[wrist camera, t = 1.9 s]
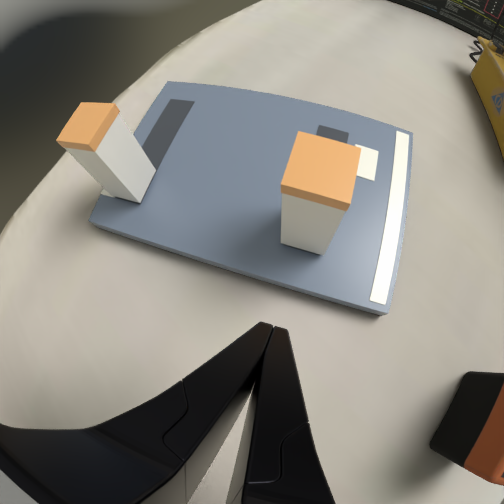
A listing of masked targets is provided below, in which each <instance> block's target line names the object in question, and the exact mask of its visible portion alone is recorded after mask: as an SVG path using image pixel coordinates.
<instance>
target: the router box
mask: <svg viewBox="0 0 504 504" xmlns="http://www.w3.org/2000/svg"><path fill="white" fill-rule="evenodd" d="M389 1H392V2H395V3H399V4H401V5H404V6H407V7H410V8H413V9H415V10H418V11H421V12H423V13H426V14H428V15H431V16H433V17H436V18H438V19H440V20H442V21H445V22H447V23H449V24H452V25H454V26H456V27H458V28H460V29H462V30H464V31H466V32H468V33H470V34H472V35H474V36H476V37H478V36H480V37H482V38H484V39H487V40H489V41H490V40H491V34H492V32H493V30H494V28H495V25H496V23H497V21H498V20H499V18H500V16H501V14H502V13H503V11H504V0H389ZM493 42H496V43H498V44H501V45H502V46H504V17H503V18H502V20H501V22H500V24H499V26H498V28H497V30H496V32H495V35H494V37H493Z"/></svg>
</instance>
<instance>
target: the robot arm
mask: <svg viewBox="0 0 504 504" xmlns="http://www.w3.org/2000/svg"><path fill="white" fill-rule="evenodd" d="M253 386H254V387H253ZM252 389H253V390H252ZM251 391H252V393H251ZM250 394H251V397H250V401H249V406H248V410H247V415H246V419H245V424H244V428H243V433H242V437H241V441H240V446H239V450H238V454H237V459H236V463H235V467H234V471H233V475H232V480H231V484H230V488H229V492H228V496H227V500H226V504H335V501H334V498H333V496H332V493H331V491H330V488H329V485H328V483H327V480H326V477H325V475H324V472H323V470H322V467H321V464H320V461H319V458H318V455H317V452H316V449H315V445H314V441H313V437H312V433H311V428H310V424H309V423H308V422H309V420H308V415H307V411H306V407H305V402H304V398H303V393H302V389H301V384H300V380H299V376H298V371H297V367H296V362H295V358H294V354H293V350H292V345H291V341H290V337H289V332H288V330H287V329H284V328H281V327H277V326H275V327H274V328H273V325H271V324H268V323H265V322H259V323H258V324H256V325H255V326H254V327H252V328H251V329H250V330H248V331H247V332H246V333H245V334H243V335H242V336H241V337H239V338H238V339H237V340H235V341H234V342H233V343H231V344H230V345H229V346H227V347H226V348H225V349H223V350H222V351H221V352H219V353H218V354H217V355H215V356H214V357H212V358H211V359H210V360H208V361H207V362H206V363H204V364H203V365H201V366H200V367H199V368H197V369H196V370H195V371H193V372H192V373H190V374H189V375H188V376H186V377H185V378H183V379H182V381H179V382H177V383H176V384H175V385H173V386H172V387H170V388H169V389H167V390H166V391H164V392H162V393H161V394H159V395H158V396H156V397H154V398H153V399H151V400H149V401H147V402H145V403H143V404H141V405H139V406H137V407H135V408H133V409H131V410H129V411H127V412H125V413H123V414H121V415H118V416H116V417H114V418H112V419H110V420H108V421H105V422H103V423H101V424H98V425H96V426H92V427H89V428H84V429H62V430H58V429H23V428H14V427H9V426H6V425H3V424H1V423H0V504H187V503H188V501H189V499H190V498H191V496H192V495H193V493H194V491H195V490H196V488H197V487H198V485H199V483H200V482H201V480H202V478H203V477H204V475H205V473H206V472H207V470H208V468H209V467H210V465H211V463H212V462H213V460H214V458H215V457H216V455H217V453H218V451H219V450H220V448H221V446H222V445H223V443H224V441H225V439H226V438H227V436H228V434H229V432H230V430H231V429H232V427H233V425H234V423H235V422H236V420H237V418H238V416H239V414H240V412H241V411H242V409H243V407H244V405H245V403H246V401H247V400H248V398H249V396H250Z"/></svg>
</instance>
